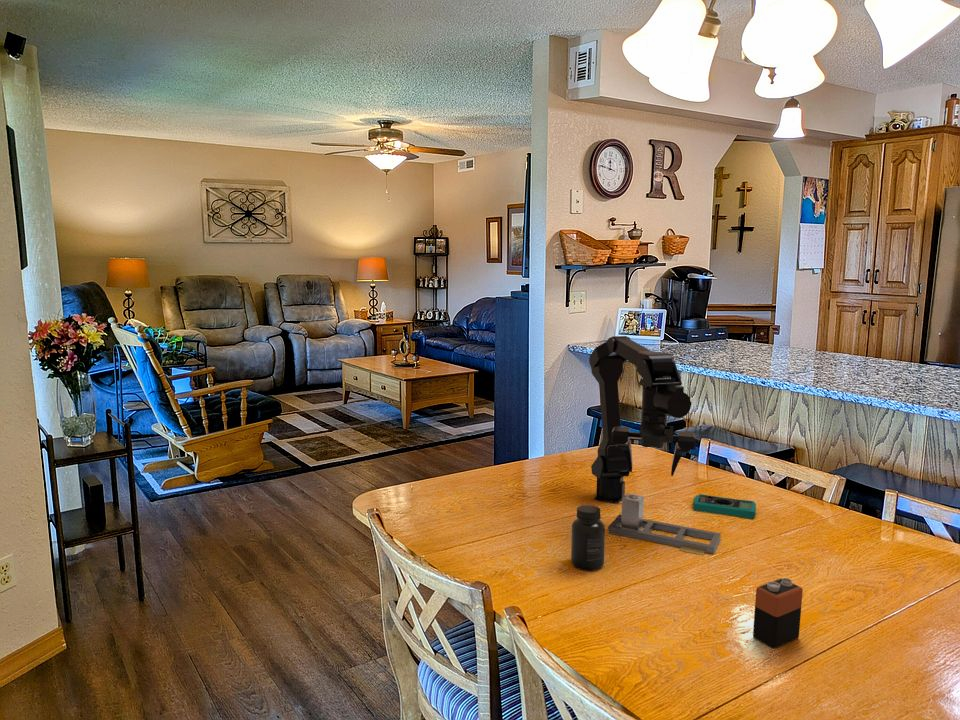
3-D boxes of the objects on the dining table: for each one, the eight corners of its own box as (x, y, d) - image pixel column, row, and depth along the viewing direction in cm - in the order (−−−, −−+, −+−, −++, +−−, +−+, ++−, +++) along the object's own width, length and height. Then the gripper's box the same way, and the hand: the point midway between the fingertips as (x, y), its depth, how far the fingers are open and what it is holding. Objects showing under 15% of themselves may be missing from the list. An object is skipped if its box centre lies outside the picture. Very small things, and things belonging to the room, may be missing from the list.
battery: (751, 637, 115) (755, 581, 113) (777, 626, 118) (781, 572, 116) (774, 650, 111) (778, 592, 109) (800, 638, 114) (804, 582, 113)
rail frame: (605, 535, 156) (606, 529, 156) (619, 520, 165) (619, 514, 164) (712, 557, 145) (712, 550, 145) (720, 539, 154) (720, 533, 154)
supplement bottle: (606, 559, 143) (608, 505, 142) (601, 573, 137) (603, 516, 135) (574, 554, 146) (575, 501, 144) (567, 568, 139) (569, 512, 137)
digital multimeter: (694, 502, 178) (695, 491, 178) (755, 511, 172) (756, 500, 172) (691, 512, 172) (691, 500, 171) (754, 521, 166) (755, 509, 165)
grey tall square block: (620, 531, 158) (622, 497, 157) (625, 525, 162) (627, 492, 160) (637, 534, 156) (639, 500, 155) (642, 528, 160) (643, 495, 159)
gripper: (609, 412, 151) (607, 480, 153) (698, 419, 146) (694, 489, 148) (614, 402, 161) (611, 466, 164) (696, 407, 156) (693, 473, 159)
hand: (651, 473), depth 158 cm, fingers open, 9 cm apart
